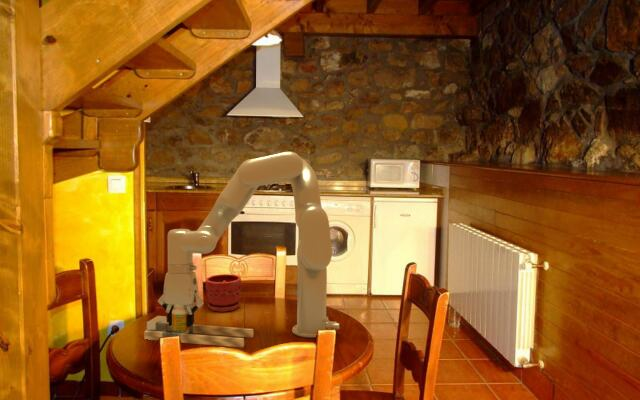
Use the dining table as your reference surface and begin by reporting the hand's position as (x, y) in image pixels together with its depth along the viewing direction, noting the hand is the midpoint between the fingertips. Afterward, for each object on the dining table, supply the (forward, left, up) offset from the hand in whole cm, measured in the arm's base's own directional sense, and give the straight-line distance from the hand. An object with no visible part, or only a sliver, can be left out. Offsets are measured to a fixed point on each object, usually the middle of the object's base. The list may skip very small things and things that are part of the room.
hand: (180, 324), depth 163 cm
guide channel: (-6, 0, -4) cm, 7 cm away
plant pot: (-1, -33, -4) cm, 33 cm away
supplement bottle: (0, 0, -3) cm, 3 cm away
